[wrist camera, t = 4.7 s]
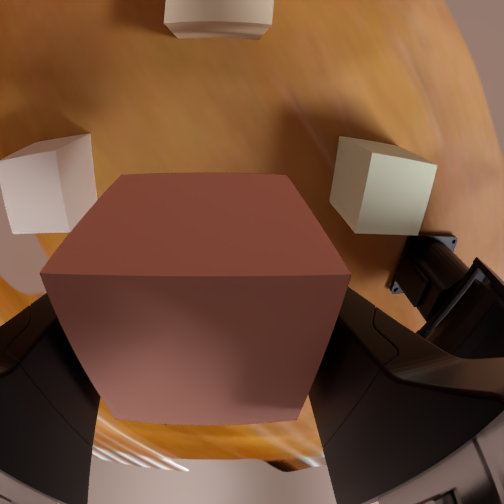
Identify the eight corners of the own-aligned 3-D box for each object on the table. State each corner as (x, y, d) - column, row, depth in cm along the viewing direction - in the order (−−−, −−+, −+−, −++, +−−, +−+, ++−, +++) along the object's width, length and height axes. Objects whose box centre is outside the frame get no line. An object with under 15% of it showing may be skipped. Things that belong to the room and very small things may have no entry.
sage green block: (397, 145, 19) (437, 165, 15) (384, 205, 22) (417, 235, 17) (339, 135, 18) (372, 152, 14) (328, 201, 21) (354, 233, 17)
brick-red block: (286, 175, 9) (351, 274, 4) (270, 302, 11) (296, 419, 7) (121, 174, 8) (39, 273, 4) (141, 302, 11) (115, 418, 6)
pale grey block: (91, 133, 16) (56, 150, 12) (98, 199, 19) (70, 232, 15) (35, 142, 16) (-4, 161, 12) (45, 203, 19) (12, 234, 14)
